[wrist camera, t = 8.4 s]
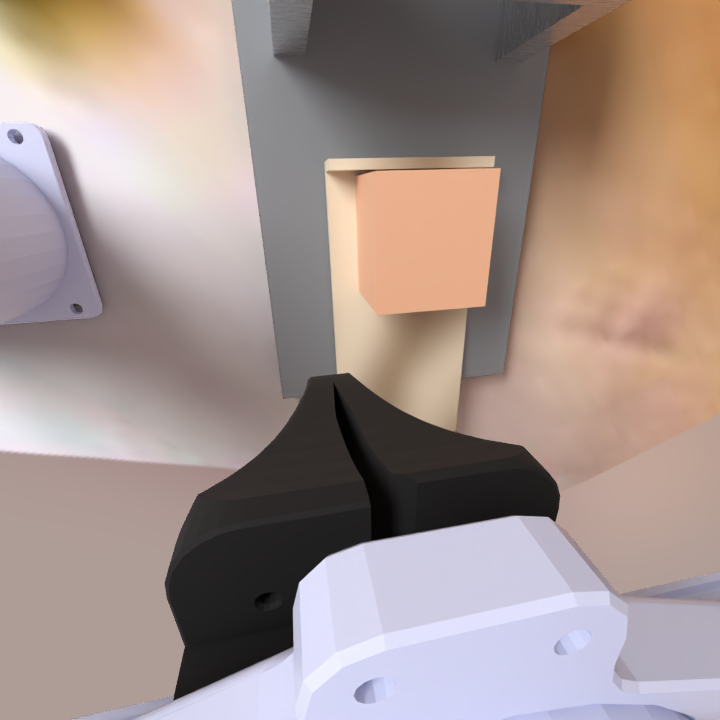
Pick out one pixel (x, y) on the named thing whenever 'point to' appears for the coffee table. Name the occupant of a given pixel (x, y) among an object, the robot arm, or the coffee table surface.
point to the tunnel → (515, 28)
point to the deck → (381, 146)
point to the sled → (392, 331)
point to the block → (425, 238)
